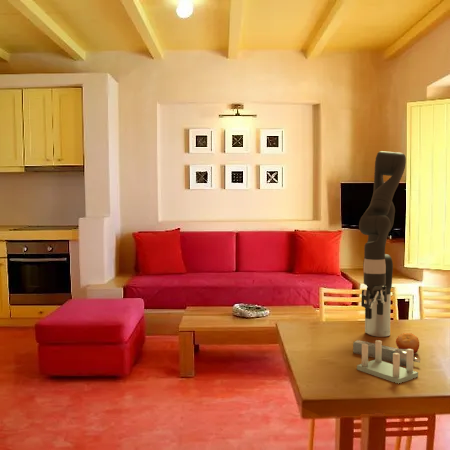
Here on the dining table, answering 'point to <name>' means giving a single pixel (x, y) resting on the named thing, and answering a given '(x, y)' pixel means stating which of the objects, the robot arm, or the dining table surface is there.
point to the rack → (387, 365)
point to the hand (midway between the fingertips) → (374, 316)
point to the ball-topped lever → (383, 352)
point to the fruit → (408, 342)
